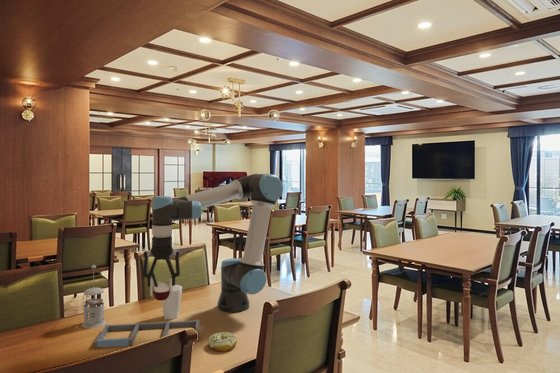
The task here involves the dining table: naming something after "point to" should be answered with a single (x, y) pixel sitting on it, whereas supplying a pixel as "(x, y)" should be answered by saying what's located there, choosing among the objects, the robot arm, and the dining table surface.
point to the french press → (93, 308)
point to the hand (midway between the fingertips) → (161, 294)
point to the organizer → (135, 327)
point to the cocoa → (160, 289)
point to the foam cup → (172, 303)
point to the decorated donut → (222, 341)
